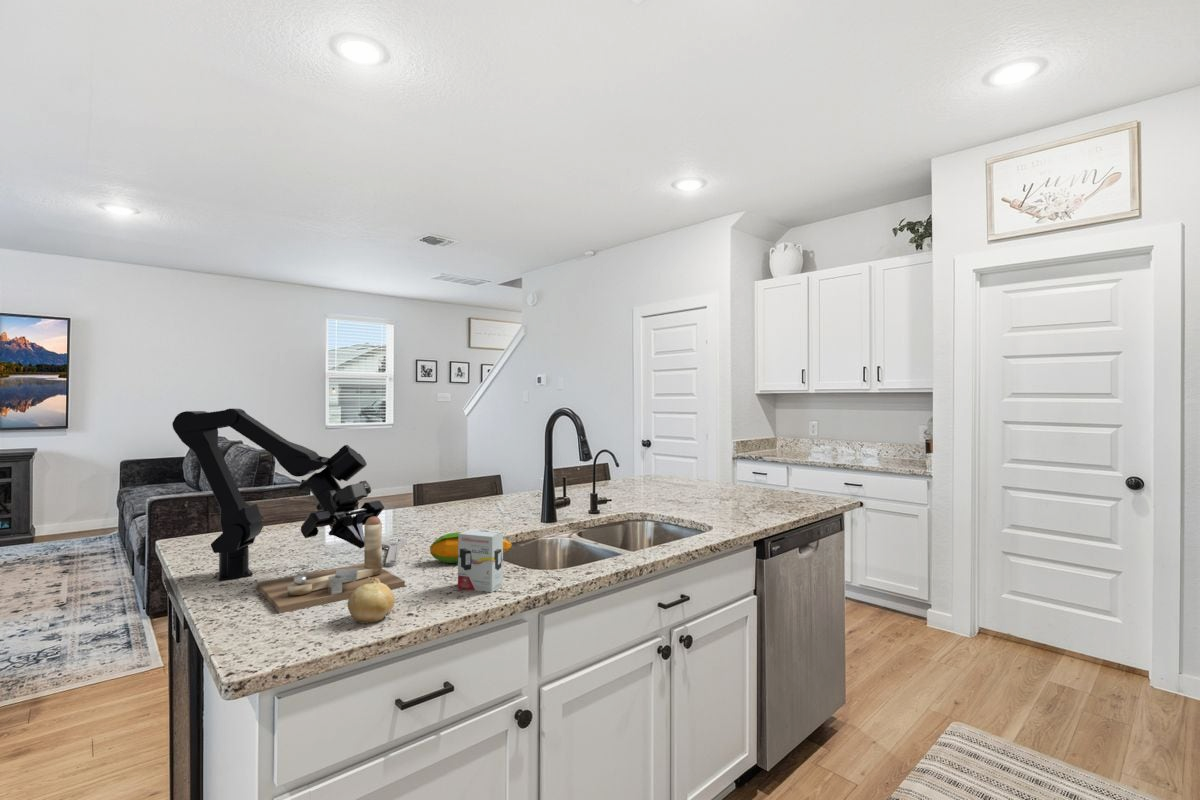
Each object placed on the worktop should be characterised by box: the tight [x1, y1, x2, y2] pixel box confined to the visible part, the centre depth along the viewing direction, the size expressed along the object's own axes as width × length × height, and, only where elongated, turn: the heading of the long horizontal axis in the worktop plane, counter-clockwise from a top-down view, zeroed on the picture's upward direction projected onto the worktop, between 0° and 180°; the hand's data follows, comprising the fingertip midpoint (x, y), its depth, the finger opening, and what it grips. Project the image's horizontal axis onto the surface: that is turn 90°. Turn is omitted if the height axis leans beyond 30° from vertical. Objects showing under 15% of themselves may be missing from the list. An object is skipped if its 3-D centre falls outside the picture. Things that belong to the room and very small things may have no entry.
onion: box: [346, 577, 395, 624], centre depth 105 cm, size 8×8×7 cm
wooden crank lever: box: [288, 516, 383, 595], centre depth 122 cm, size 20×4×13 cm, turn 143°
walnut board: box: [256, 563, 406, 614], centre depth 123 cm, size 20×24×1 cm
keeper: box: [294, 568, 357, 595], centre depth 117 cm, size 8×12×3 cm, turn 131°
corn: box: [429, 531, 513, 564], centre depth 145 cm, size 7×8×20 cm
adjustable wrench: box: [382, 538, 408, 568], centre depth 151 cm, size 25×6×2 cm, turn 13°
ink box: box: [457, 528, 504, 593], centre depth 123 cm, size 9×5×12 cm, turn 70°
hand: (363, 546), depth 129 cm, fingers closed
